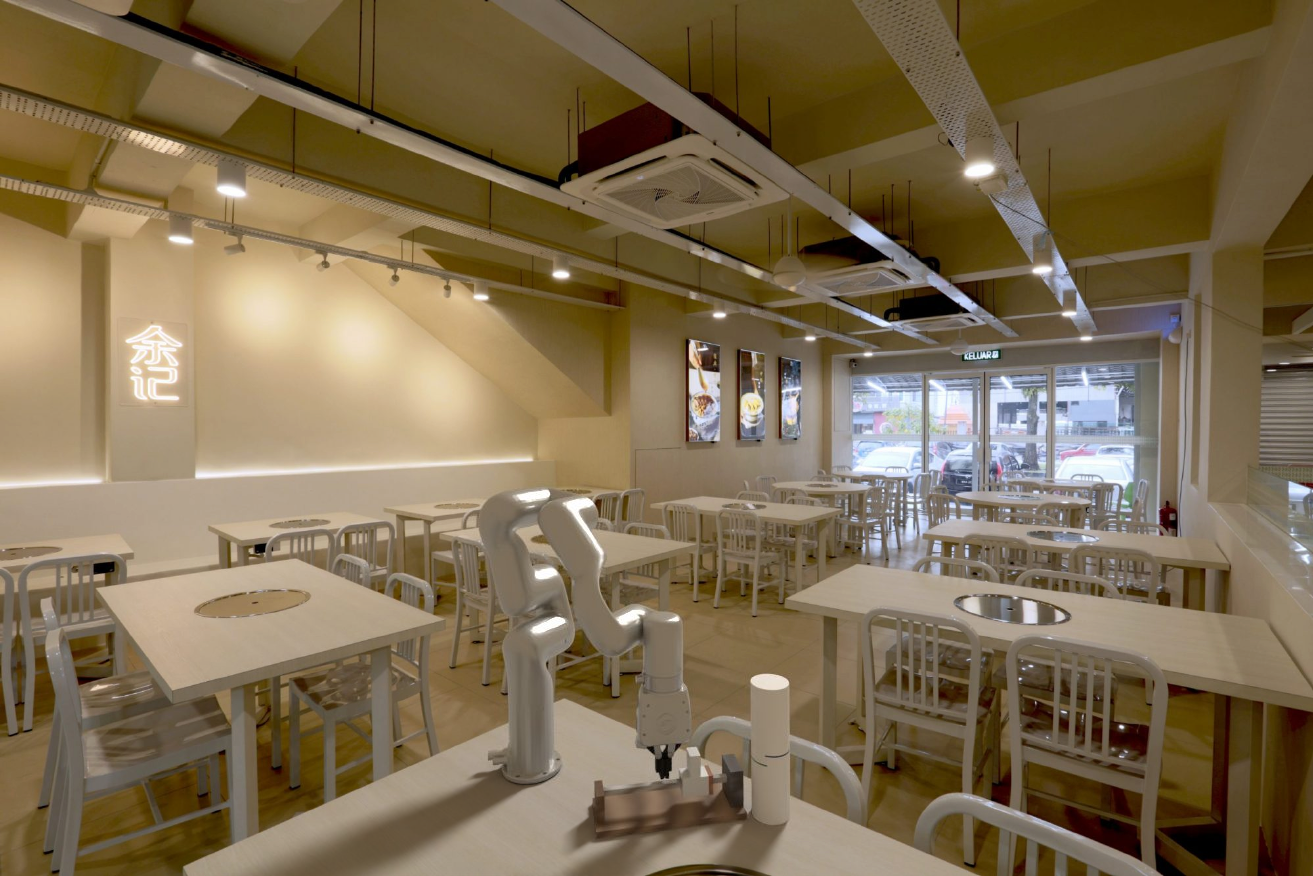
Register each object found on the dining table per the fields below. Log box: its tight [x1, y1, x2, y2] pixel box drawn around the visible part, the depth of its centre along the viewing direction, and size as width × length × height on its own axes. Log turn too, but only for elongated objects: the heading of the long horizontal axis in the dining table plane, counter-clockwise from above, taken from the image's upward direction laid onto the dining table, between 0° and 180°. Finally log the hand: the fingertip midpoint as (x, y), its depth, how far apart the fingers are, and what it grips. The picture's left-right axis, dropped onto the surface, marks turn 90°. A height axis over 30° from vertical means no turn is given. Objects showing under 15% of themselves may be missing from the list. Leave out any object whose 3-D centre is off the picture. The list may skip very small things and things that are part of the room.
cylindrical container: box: [750, 673, 791, 826], centre depth 114 cm, size 7×7×25 cm
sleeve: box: [678, 746, 709, 798], centre depth 115 cm, size 5×4×8 cm
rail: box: [592, 753, 748, 840], centre depth 115 cm, size 28×10×8 cm, turn 100°
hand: (663, 774), depth 115 cm, fingers closed
